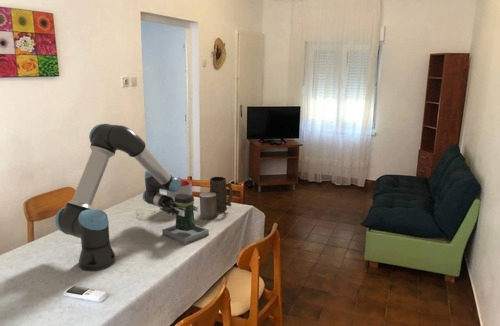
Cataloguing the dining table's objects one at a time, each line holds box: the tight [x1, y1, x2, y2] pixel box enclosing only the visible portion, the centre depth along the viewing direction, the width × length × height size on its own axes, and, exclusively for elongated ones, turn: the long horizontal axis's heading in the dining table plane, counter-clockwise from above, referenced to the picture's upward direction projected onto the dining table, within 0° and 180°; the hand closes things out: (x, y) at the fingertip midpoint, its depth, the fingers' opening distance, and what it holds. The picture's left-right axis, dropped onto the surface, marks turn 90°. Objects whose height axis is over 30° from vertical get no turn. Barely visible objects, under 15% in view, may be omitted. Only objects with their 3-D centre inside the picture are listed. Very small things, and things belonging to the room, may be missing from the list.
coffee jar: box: [175, 193, 196, 231], centre depth 205 cm, size 10×8×19 cm
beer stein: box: [209, 176, 234, 213], centre depth 244 cm, size 15×11×20 cm
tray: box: [161, 224, 210, 246], centre depth 207 cm, size 16×18×3 cm
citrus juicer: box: [166, 177, 193, 209], centre depth 245 cm, size 16×17×20 cm
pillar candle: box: [199, 191, 218, 221], centre depth 232 cm, size 10×10×15 cm
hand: (190, 211), depth 201 cm, fingers closed on coffee jar, 8 cm apart
